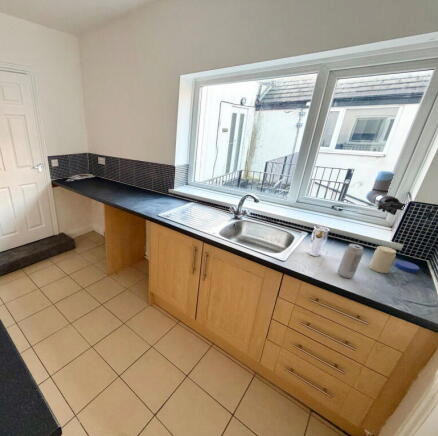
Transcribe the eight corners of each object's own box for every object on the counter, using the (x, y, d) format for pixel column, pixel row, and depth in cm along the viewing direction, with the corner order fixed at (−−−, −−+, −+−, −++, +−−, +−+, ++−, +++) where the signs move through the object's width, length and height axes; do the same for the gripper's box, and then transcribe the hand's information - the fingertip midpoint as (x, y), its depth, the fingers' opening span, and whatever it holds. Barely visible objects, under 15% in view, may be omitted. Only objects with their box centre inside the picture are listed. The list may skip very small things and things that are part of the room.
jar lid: (404, 272, 115) (406, 268, 114) (390, 263, 122) (391, 260, 121) (422, 273, 114) (424, 269, 113) (407, 264, 121) (409, 261, 121)
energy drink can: (343, 270, 115) (354, 242, 110) (356, 277, 110) (368, 248, 104) (333, 271, 114) (344, 244, 108) (346, 279, 109) (358, 250, 103)
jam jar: (380, 265, 120) (388, 246, 117) (393, 273, 114) (401, 253, 110) (365, 264, 121) (372, 245, 117) (376, 272, 114) (384, 252, 110)
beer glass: (309, 248, 135) (316, 224, 130) (323, 254, 130) (332, 228, 125) (304, 253, 131) (311, 228, 125) (319, 258, 126) (327, 232, 120)
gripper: (412, 210, 135) (442, 224, 116) (358, 206, 142) (378, 218, 123) (417, 197, 132) (449, 209, 113) (362, 193, 139) (383, 204, 120)
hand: (412, 213), depth 118 cm, fingers open, 13 cm apart
